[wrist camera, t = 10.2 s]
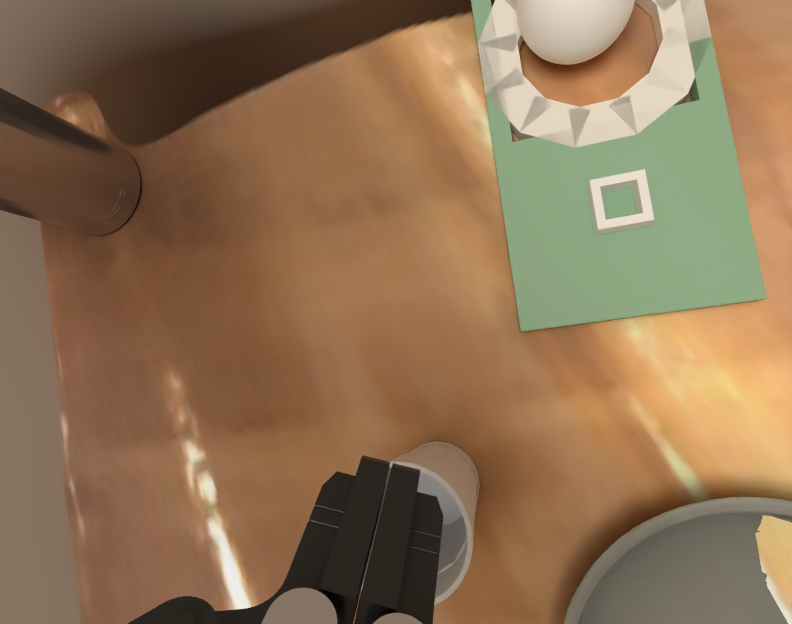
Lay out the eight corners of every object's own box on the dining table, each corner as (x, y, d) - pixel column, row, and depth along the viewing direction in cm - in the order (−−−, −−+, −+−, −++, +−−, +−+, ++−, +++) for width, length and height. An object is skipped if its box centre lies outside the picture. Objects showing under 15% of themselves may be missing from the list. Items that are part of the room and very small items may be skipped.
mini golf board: (756, 300, 35) (925, 260, 20) (521, 332, 39) (514, 318, 24) (676, -86, 38) (769, -368, 23) (468, -21, 42) (433, -227, 27)
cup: (377, 446, 41) (317, 482, 29) (470, 418, 39) (444, 444, 28) (408, 545, 40) (357, 624, 28) (505, 520, 38) (493, 593, 26)
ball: (477, -7, 36) (519, 88, 41) (565, -27, 30) (602, 89, 35) (547, -80, 37) (580, 22, 42) (647, -113, 31) (671, 11, 36)
